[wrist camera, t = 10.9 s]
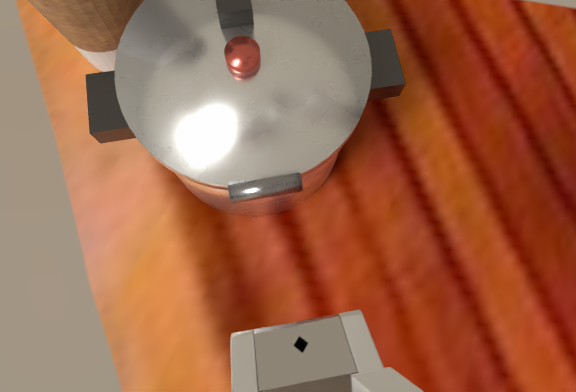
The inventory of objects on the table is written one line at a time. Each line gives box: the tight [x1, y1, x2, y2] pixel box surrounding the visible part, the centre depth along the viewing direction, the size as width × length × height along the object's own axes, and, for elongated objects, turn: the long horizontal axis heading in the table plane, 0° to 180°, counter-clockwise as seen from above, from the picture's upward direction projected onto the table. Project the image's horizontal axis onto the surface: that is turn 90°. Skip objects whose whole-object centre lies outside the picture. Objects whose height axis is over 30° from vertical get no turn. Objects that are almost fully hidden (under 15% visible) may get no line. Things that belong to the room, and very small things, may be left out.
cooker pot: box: [86, 29, 406, 216], centre depth 31 cm, size 20×14×9 cm
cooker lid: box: [115, 0, 372, 204], centre depth 25 cm, size 15×16×2 cm
